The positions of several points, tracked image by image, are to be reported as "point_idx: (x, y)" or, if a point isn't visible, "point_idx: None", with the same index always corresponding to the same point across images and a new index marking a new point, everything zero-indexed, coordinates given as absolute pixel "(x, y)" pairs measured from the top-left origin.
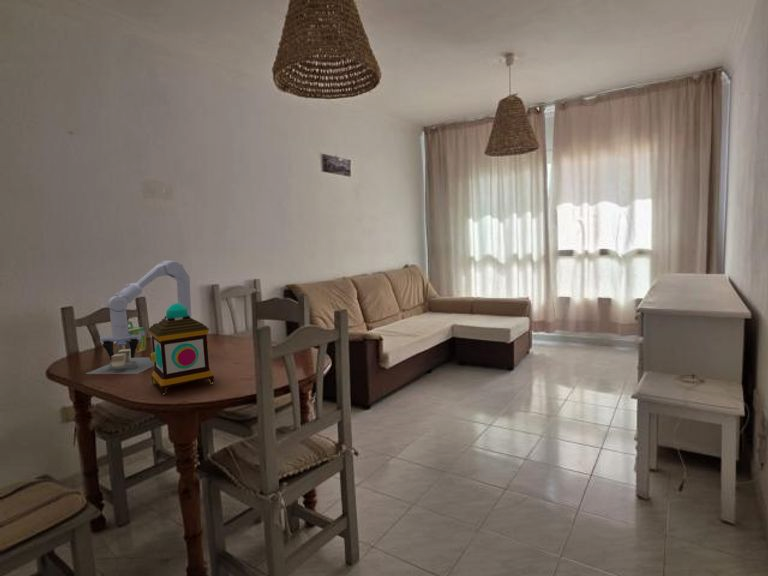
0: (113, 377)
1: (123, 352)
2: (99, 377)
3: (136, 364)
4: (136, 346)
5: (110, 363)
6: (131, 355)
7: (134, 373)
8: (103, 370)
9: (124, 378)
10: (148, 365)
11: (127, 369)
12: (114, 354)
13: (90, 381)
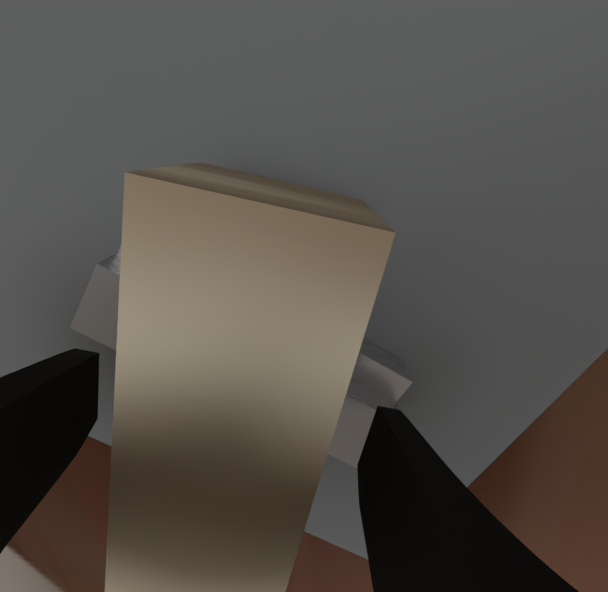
0: None
1: (242, 516)
2: (92, 473)
3: (394, 399)
4: (532, 558)
5: (86, 327)
6: (369, 510)
7: (365, 552)
8: (54, 317)
9: (295, 579)
10: (506, 363)
11: None
12: (111, 573)
13: (60, 539)
